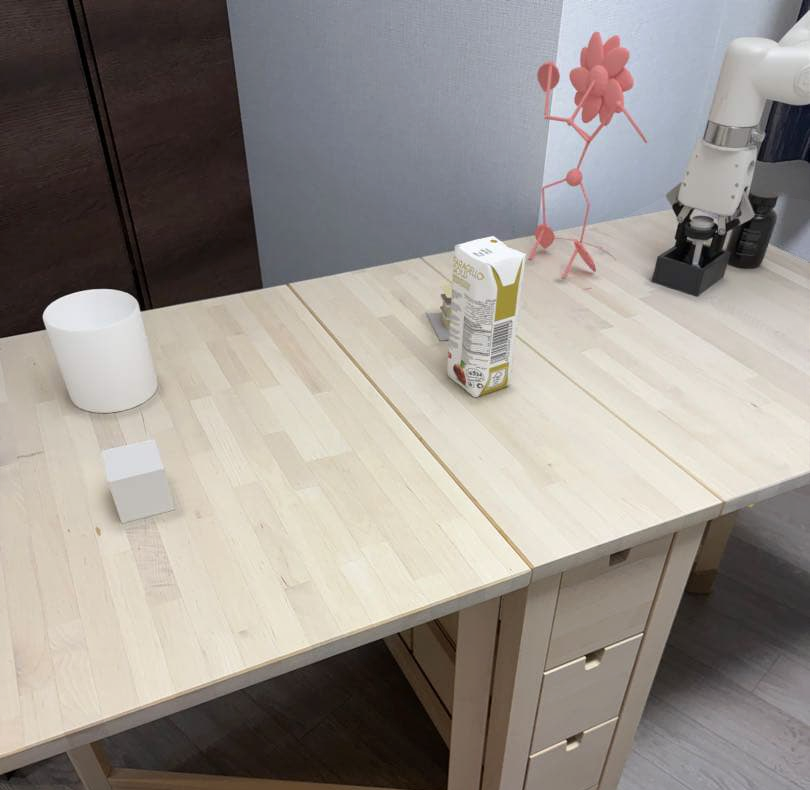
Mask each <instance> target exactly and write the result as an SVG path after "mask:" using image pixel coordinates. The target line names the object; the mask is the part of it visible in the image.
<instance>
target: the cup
mask: <svg viewBox="0 0 810 790" xmlns="http://www.w3.org/2000/svg"><path fill="white" fill-rule="evenodd" d="M42 321H43V324H44V327H45V330H46V333H47V335H48V338H49V341H50V343H51V346H52V350H53V353H54V355H55V357H56V361H57V364H58V367H59V370H60V373H61V376H62V378H63V381H64V384H65V387H66V390H67V393H68V396H69V399H70V401H71V402H72V404H73V405H74V406H76V407H77V408H79V409H81V410H83V411H86V412H91V413H95V414H96V413H99V414H110V413H113V414H114V413H118V412H123V411H127V410H131V409H133V408H136V407H138V406H140V405H142V404H143V403H146V402H147V401H148V400H150V398H152V396H153V395H154V394H155V393H156V391H157V389H158V387H159V386H158V385H159V381H158V376H157V372H156V369H155V364H154V361H153V357H152V352H151V349H150V345H149V341H148V337H147V332H146V328H145V325H144V324H145V323H144V321H143V317H142V312H141V309H140V304H139V302H138V300H137V299H136V298H135V297H134V296H133V295H131V294H130V293H128V292H126V291H125V292H124V291H122V290H117V289H109V288H96V289H95V288H94V289H86V290H82V291H77V292H73V293H70V294H67V295H64V296H62V297H59V298H58V299H56V300H54V301H52V302H51V303H50V304H49V305H47V306H46V308H45V309H44V311H43V314H42Z"/></svg>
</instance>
